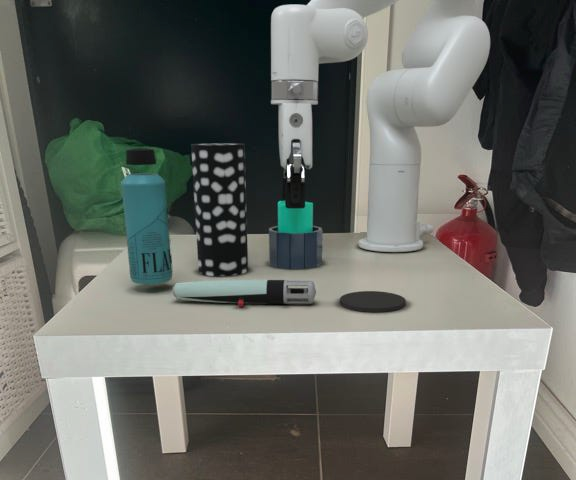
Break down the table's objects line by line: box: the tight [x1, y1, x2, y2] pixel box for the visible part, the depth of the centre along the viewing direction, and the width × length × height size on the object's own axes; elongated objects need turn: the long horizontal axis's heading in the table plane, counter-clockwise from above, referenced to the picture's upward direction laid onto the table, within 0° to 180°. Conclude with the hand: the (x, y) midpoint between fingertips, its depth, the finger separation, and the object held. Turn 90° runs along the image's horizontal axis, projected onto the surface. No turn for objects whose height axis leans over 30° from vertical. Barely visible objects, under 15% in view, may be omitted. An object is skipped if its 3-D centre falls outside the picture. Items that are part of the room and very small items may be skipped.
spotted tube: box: [190, 142, 249, 277], centre depth 104 cm, size 8×8×20 cm
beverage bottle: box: [120, 147, 174, 285], centre depth 93 cm, size 6×7×20 cm
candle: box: [277, 200, 314, 233], centre depth 111 cm, size 6×6×12 cm
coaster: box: [339, 290, 407, 313], centre depth 89 cm, size 9×9×1 cm
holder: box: [268, 225, 323, 270], centre depth 112 cm, size 9×9×6 cm
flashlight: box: [171, 279, 317, 308], centre depth 88 cm, size 3×4×20 cm
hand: (293, 204), depth 109 cm, fingers open, 9 cm apart
